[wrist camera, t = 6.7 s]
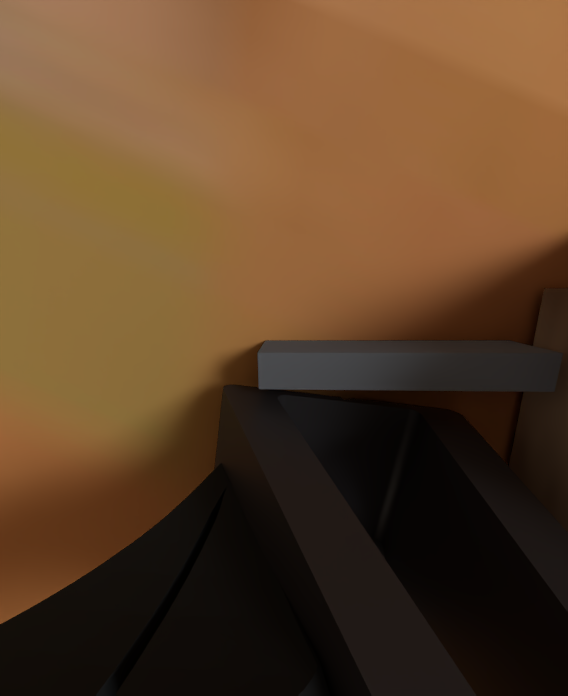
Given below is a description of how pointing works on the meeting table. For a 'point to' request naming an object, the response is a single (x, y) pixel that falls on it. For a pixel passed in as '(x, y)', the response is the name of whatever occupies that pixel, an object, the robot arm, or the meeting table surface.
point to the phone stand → (401, 545)
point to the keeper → (408, 367)
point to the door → (547, 417)
